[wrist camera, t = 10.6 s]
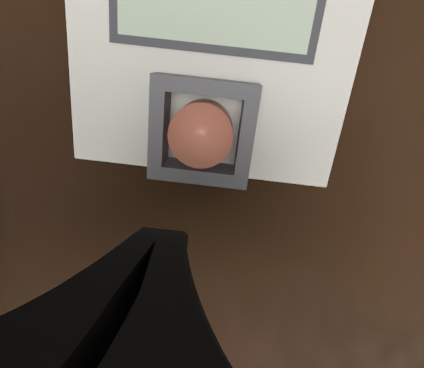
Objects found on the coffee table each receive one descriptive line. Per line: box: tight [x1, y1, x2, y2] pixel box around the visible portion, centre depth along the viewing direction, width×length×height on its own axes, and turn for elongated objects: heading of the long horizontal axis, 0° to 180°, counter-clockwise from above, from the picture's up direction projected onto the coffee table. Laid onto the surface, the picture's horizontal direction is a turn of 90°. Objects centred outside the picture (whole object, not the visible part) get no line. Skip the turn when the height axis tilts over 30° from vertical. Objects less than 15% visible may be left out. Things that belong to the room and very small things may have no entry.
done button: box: [167, 99, 233, 169], centre depth 15 cm, size 3×3×2 cm
